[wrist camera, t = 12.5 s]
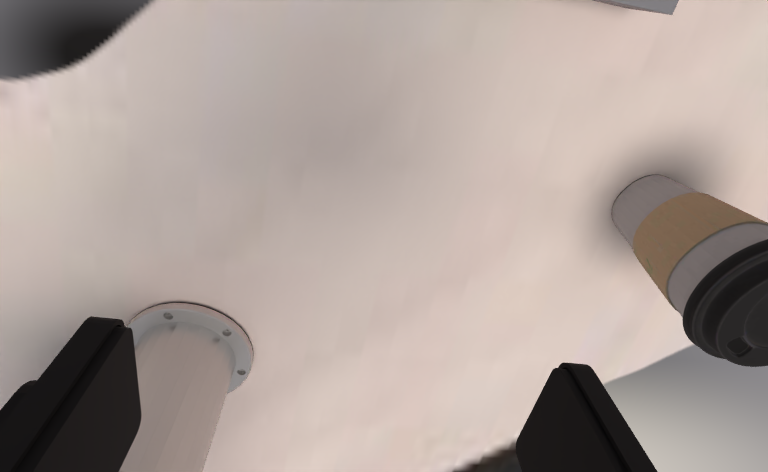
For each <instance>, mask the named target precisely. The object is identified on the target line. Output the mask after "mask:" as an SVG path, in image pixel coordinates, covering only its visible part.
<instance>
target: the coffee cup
mask: <svg viewBox="0 0 768 472" xmlns="http://www.w3.org/2000/svg"><path fill="white" fill-rule="evenodd" d="M612 218H613V221H614V223H615V225H616V227H617V228H618V229H619V231H620V232H621V234H622V235H623V236H624V238H625V239H626V240H627V242H628V243H629V245H630V246H631V247H632V249H633V250H634V253H635V255H636V257H637V259H638V260H639V262H640V263H641V264H642V266H643V267H644V269H645V270H646V271H647V273H648V274H649V276H650V277H651V278H652V280H653V281H654V282H655V284H656V285H657V287H658V288H659V289H660V291H661V292H662V293H663V295H664V296H665V298H666V299H667V300H668V302H669V303H670V304H671V305H672V306H673V308H674V309H675V310H677V311H678V312H679V313H680V314H681V316H682V317H683V327H684V331H685V333H686V335H687V337H688V338H689V339H690V340H691V342H693V343H694V344H695V345H697V346H698V347H700V348H701V349H702V350H703V351H705V352H706V353H708V354H710V355H712V356H715V357H718V358H723V359H727V360H728V361H730V362H733V363H735V364H738V365H742V366H750V367H757V366H768V223H767V222H764V221H762V220H760V219H758V218H756V217H754V216H752V215H750V214H748V213H746V212H744V211H741V210H739V209H737V208H735V207H733V206H731V205H729V204H727V203H725V202H723V201H721V200H718V199H716V198H714V197H712V196H710V195H708V194H704V193H699V192H697V191H695V190H693V189H691V188H689V187H686V186H684V185H682V184H680V183H678V182H676V181H674V180H672V179H670V178H668V177H665V176H661V175H651V176H646V177H644V178H641V179H639V180H637V181H635V182H634V183H632V184H631V185H629V186H628V187H627V188H626V189H625V190H624V191H623V192H622V193H621V194H620V195H619V196H618V198H617V199H616V201H615V203H614V205H613V208H612Z"/></svg>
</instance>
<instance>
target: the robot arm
mask: <svg viewBox="0 0 768 472" xmlns="http://www.w3.org/2000/svg"><path fill="white" fill-rule="evenodd" d="M252 362H253V350H252V345H251V343H250V341H249V339H248V337H247V335H246V334H245V333H244V331H243V330H242V329H241V328H240V327H239V326H238V325H237V324H236V323H235V322H233V321H232V320H231V319H229V318H228V317H226V316H224V315H223V314H221V313H219V312H216V311H214V310H212V309H209V308H206V307H202V306H199V305H193V304H187V303H169V304H162V305H158V306H155V307H151V308H148V309H147V310H145V311H143V312H141V313H139V314H138V315H137V316H136V317H135V318H134V319H132V321H131V322H130V324H129V325H128V326H127V327H125V326H124V322H123V321H122V320H120V319H110V318H100V317H89V318H87V319H86V320H85V321H84V323H83V324H82V325H81V326H80V328H79V329H78V330H77V331H76V333H75V334H74V335H73V336H72V338H71V339H70V340H69V341H68V343H67V344H66V345H65V346H64V348H63V349H62V350H61V351H60V353H59V354H58V355H57V356H56V358H55V359H54V360H53V362H52V363H51V364H50V365H49V367H48V368H47V369H46V370H45V372H44V373H43V374H42V375H41V377H40V378H39V379H38V380H35V381H29V382H27V383H25V384H23V385H22V386H21V387H20V388H19V389H18V390H17V391H16V392H15V393H14V395H13V396H12V397H11V398H10V399H9V401H8V402H7V403H6V404H5V405H4V407H3V408H2V409H1V410H0V472H202V471H203V468H204V464H205V461H206V458H207V455H208V452H209V449H210V445H211V442H212V439H213V436H214V433H215V429H216V426H217V423H218V420H219V417H220V413H221V410H222V407H223V404H224V401H225V398H226V394H227V393H229V392H231V391H233V390H235V389H236V388H237V387H239V386H240V385H241V384H242V383H243V382H244V381H245V380H246V378H247V376H248V374H249V372H250V370H251V366H252ZM516 454H517V458H518V460H519V463H520V466H521V469H522V472H657V470H656V469H655V467H654V465H653V464H652V462H651V461H650V459H649V458H648V456H647V455H646V453H645V451H644V450H643V448H642V446H641V445H640V443H639V442H638V440H637V439H636V437H635V435H634V434H633V432H632V431H631V429H630V427H629V426H628V424H627V423H626V421H625V420H624V418H623V416H622V415H621V413H620V412H619V410H618V408H617V407H616V405H615V404H614V402H613V400H612V399H611V397H610V396H609V394H608V393H607V391H606V389H605V388H604V386H603V385H602V383H601V381H600V380H599V378H598V377H597V375H596V374H595V372H594V370H593V369H592V368H591V367H590V366H588V365H584V364H574V363H562V364H560V366H559V367H558V368H555V369H553V371H552V372H551V374H550V376H549V378H548V380H547V382H546V384H545V386H544V388H543V390H542V392H541V394H540V396H539V398H538V400H537V402H536V404H535V406H534V408H533V410H532V412H531V413H530V415H529V417H528V419H527V421H526V423H525V425H524V427H523V429H522V431H521V433H520V435H519V437H518V439H517V442H516Z"/></svg>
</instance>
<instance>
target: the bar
mask: <svg viewBox="0 0 768 472" xmlns="http://www.w3.org/2000/svg"><path fill="white" fill-rule="evenodd" d="M594 1H598V2H603V3H607V4H611V5H616V6H620V7H624V8H629V9H636V10H642V11H649V12H656V13H663V14H670V15H672V14H673V12H674V10H675V7H676V5H677V3H678V1H679V0H594Z"/></svg>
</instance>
